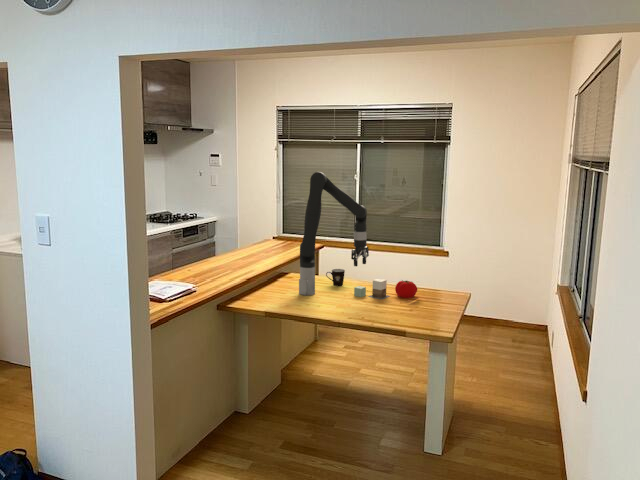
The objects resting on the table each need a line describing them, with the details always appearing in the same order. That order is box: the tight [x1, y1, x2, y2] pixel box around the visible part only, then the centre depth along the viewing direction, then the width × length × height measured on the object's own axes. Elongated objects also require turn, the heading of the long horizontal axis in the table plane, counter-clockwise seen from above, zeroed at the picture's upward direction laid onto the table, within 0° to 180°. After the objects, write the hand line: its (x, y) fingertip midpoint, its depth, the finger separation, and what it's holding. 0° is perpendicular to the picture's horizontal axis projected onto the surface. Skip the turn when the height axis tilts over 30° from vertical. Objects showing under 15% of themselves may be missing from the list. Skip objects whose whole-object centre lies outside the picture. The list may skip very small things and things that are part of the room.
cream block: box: [372, 278, 388, 290], centre depth 320 cm, size 6×6×5 cm
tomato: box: [394, 279, 418, 299], centre depth 321 cm, size 13×12×11 cm
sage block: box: [353, 285, 367, 298], centre depth 323 cm, size 5×5×6 cm
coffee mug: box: [325, 268, 346, 287], centre depth 351 cm, size 12×9×10 cm
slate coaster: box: [367, 294, 391, 300], centre depth 321 cm, size 10×10×1 cm
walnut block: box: [371, 288, 387, 298], centre depth 321 cm, size 6×6×5 cm
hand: (360, 265), depth 323 cm, fingers open, 8 cm apart
